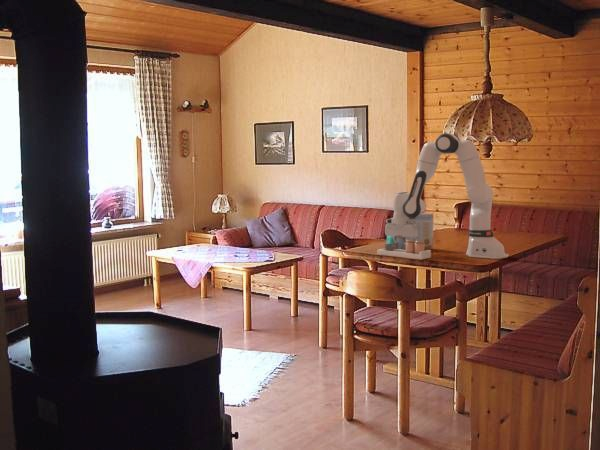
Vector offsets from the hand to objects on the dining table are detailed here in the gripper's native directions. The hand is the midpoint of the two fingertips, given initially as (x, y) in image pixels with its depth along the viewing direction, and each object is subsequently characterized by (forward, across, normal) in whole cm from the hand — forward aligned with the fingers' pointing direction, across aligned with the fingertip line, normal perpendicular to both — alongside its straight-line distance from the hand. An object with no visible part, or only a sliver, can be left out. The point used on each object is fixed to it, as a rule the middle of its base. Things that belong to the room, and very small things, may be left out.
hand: (401, 244), depth 402 cm
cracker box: (+4, -4, -14) cm, 15 cm away
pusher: (+3, -2, +12) cm, 12 cm away
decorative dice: (+4, +10, -8) cm, 13 cm away
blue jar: (+4, 0, 0) cm, 4 cm away
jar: (+4, -16, +14) cm, 22 cm away
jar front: (+4, -22, +14) cm, 26 cm away
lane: (+4, -11, +14) cm, 18 cm away
